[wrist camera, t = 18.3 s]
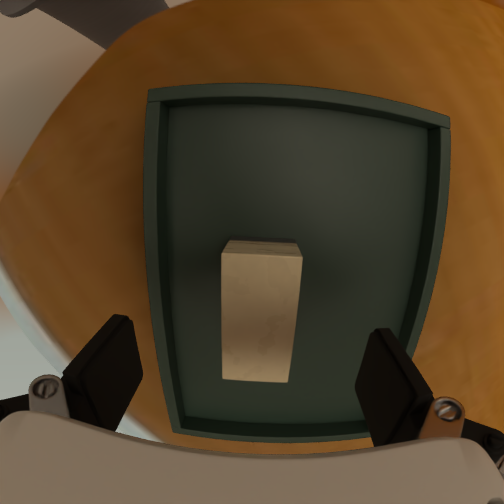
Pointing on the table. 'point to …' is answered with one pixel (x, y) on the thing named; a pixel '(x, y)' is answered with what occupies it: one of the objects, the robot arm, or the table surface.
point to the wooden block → (259, 307)
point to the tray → (288, 227)
